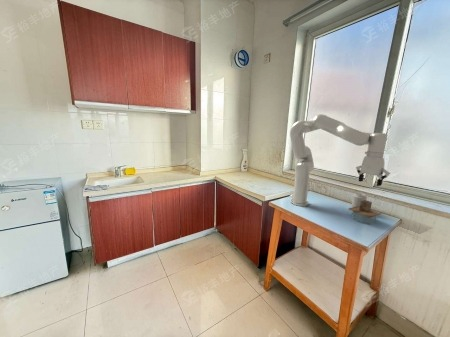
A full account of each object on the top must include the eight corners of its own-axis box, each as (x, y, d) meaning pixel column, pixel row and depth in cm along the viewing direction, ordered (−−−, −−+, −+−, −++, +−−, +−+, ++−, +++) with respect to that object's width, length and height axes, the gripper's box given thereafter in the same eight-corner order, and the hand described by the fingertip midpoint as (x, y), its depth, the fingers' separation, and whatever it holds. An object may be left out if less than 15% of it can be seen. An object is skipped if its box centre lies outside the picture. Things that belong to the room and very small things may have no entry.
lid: (348, 209, 119) (350, 199, 117) (360, 206, 124) (361, 196, 122) (369, 217, 108) (371, 206, 107) (381, 214, 113) (383, 203, 111)
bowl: (348, 217, 119) (349, 209, 118) (359, 214, 124) (360, 207, 123) (367, 225, 110) (368, 217, 109) (378, 221, 114) (379, 214, 113)
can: (348, 209, 131) (351, 192, 129) (354, 207, 135) (357, 191, 132) (360, 213, 125) (363, 196, 122) (366, 211, 128) (369, 194, 126)
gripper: (355, 153, 114) (350, 180, 118) (389, 157, 99) (382, 188, 103) (362, 152, 117) (358, 179, 121) (396, 156, 102) (390, 186, 106)
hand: (369, 183), depth 112 cm, fingers open, 9 cm apart
